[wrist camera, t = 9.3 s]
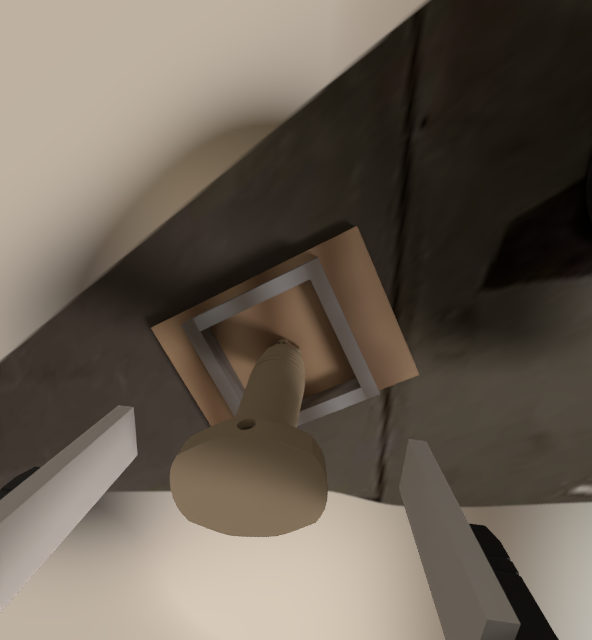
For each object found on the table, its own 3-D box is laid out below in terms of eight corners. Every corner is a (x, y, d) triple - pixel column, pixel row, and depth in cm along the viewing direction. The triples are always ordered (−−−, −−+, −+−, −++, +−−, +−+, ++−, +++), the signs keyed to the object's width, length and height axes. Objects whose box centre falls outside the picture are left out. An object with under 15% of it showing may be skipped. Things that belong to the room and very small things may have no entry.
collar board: (355, 226, 24) (360, 224, 21) (414, 369, 27) (427, 385, 24) (157, 324, 28) (137, 334, 25) (229, 442, 31) (219, 464, 27)
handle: (246, 330, 26) (160, 437, 11) (319, 327, 26) (325, 435, 11) (252, 380, 27) (179, 535, 13) (321, 378, 27) (329, 537, 12)
